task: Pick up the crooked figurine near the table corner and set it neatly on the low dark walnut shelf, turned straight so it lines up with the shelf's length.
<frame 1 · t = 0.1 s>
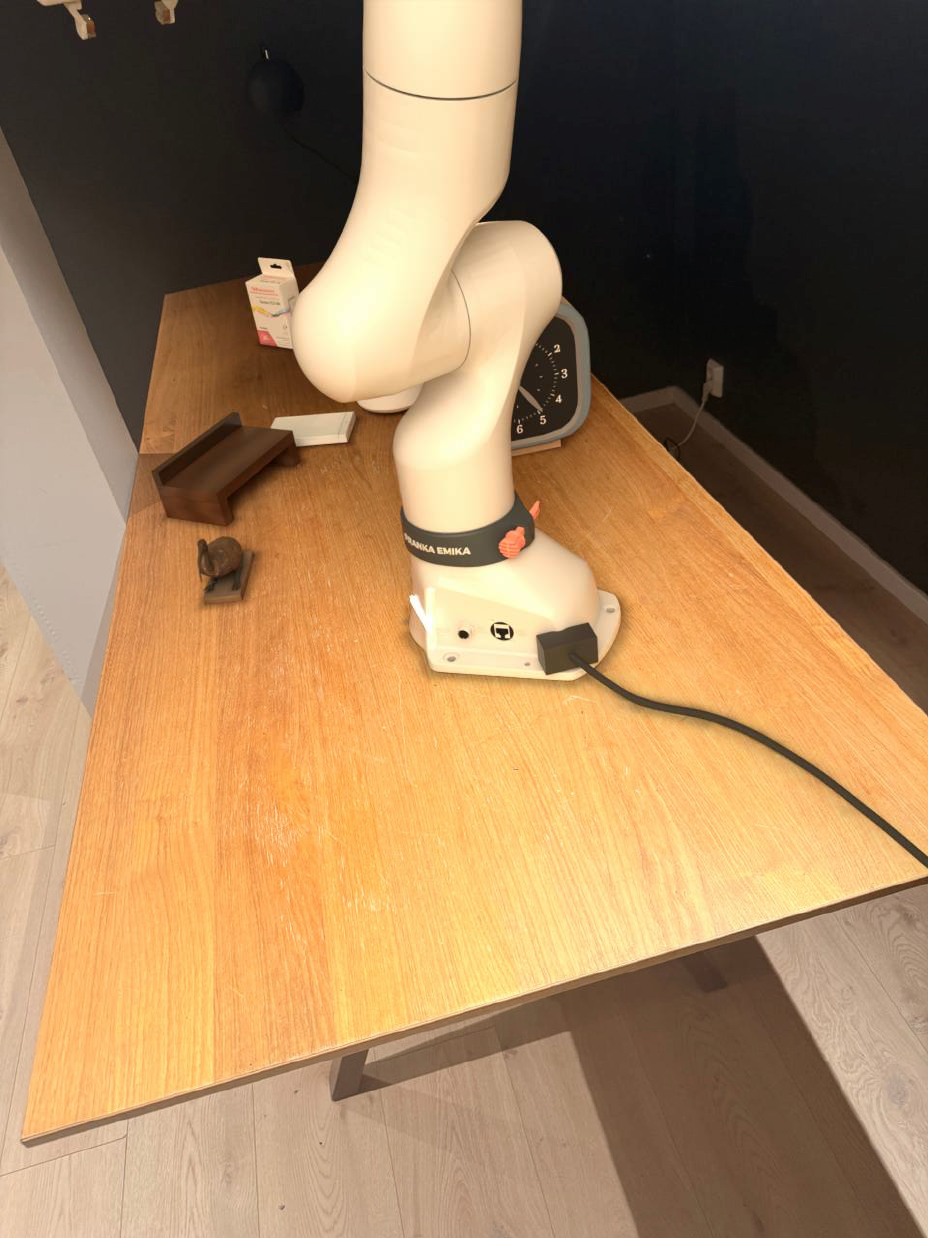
hand: (126, 28, 108), 54 cm above the table, tool tilted 30°, fingers open, 8 cm apart
ink cartridge box: (285, 343, 177), on the table
alarm clock: (514, 444, 133), on the table
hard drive: (312, 435, 144), on the table
shelf: (236, 488, 132), on the table
flower in vase: (399, 403, 149), on the table
figurine: (227, 590, 112), on the table
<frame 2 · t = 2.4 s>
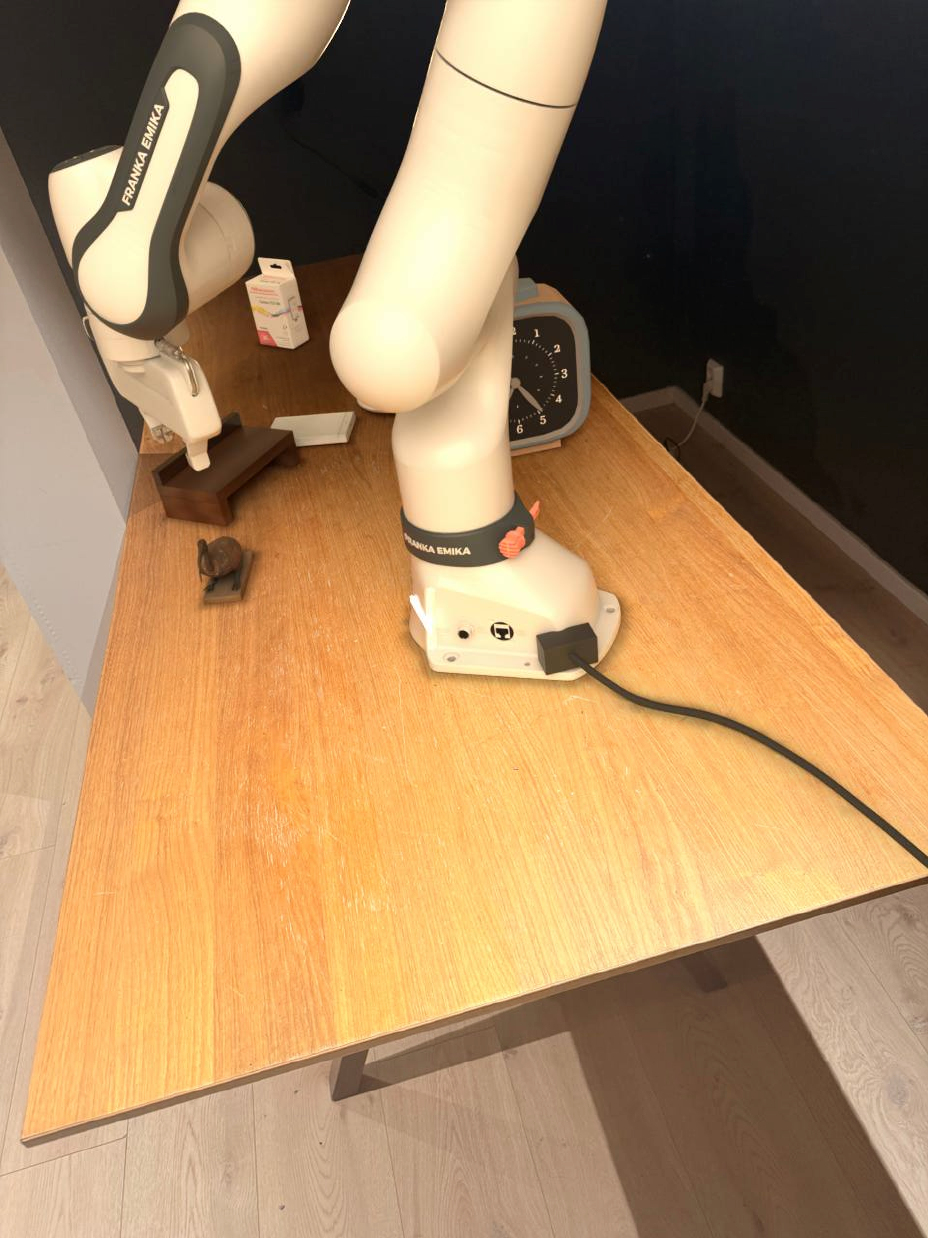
hand: (181, 453, 102), 18 cm above the table, tool pointing down, fingers open, 8 cm apart
nothing on the table moved.
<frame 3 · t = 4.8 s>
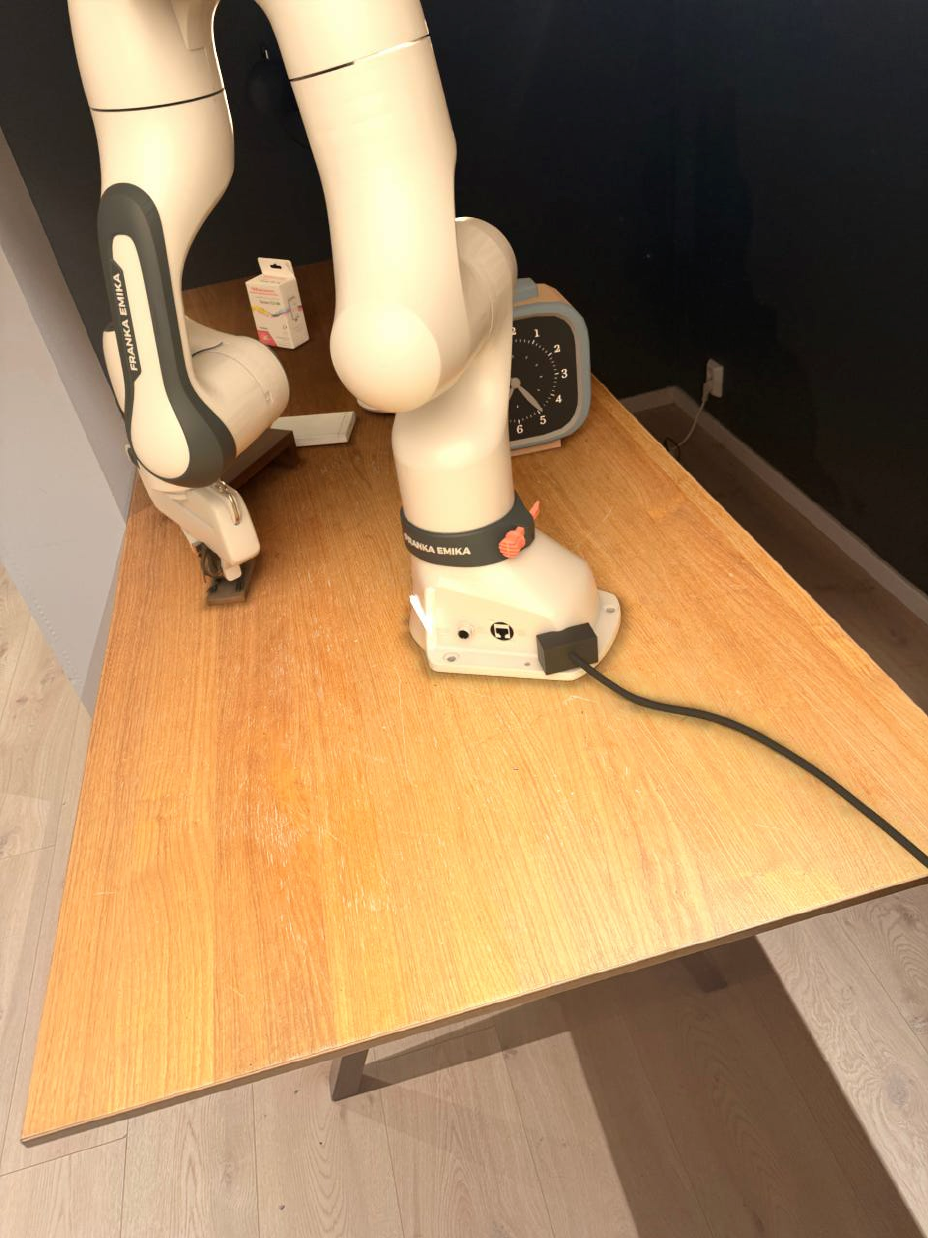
hand: (217, 564, 110), 3 cm above the table, tool pointing down, fingers closed on figurine, 6 cm apart
figurine: (230, 591, 112), on the table, touching gripper
everything else where it was.
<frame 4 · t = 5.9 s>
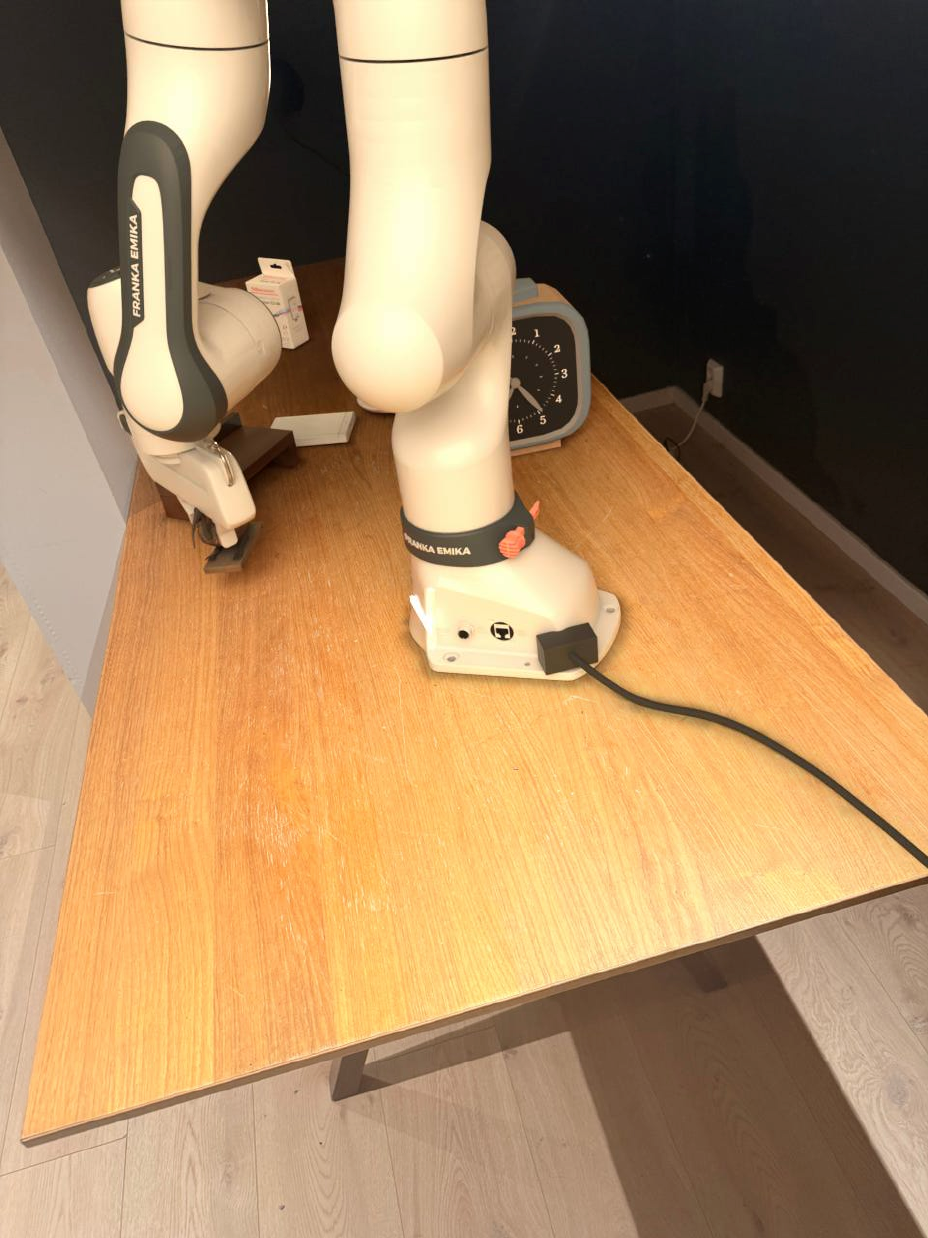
hand: (214, 534, 107), 8 cm above the table, tool pointing down, fingers closed on figurine, 5 cm apart
figurine: (231, 561, 109), point 4 cm above the table, touching gripper
everything else where it was.
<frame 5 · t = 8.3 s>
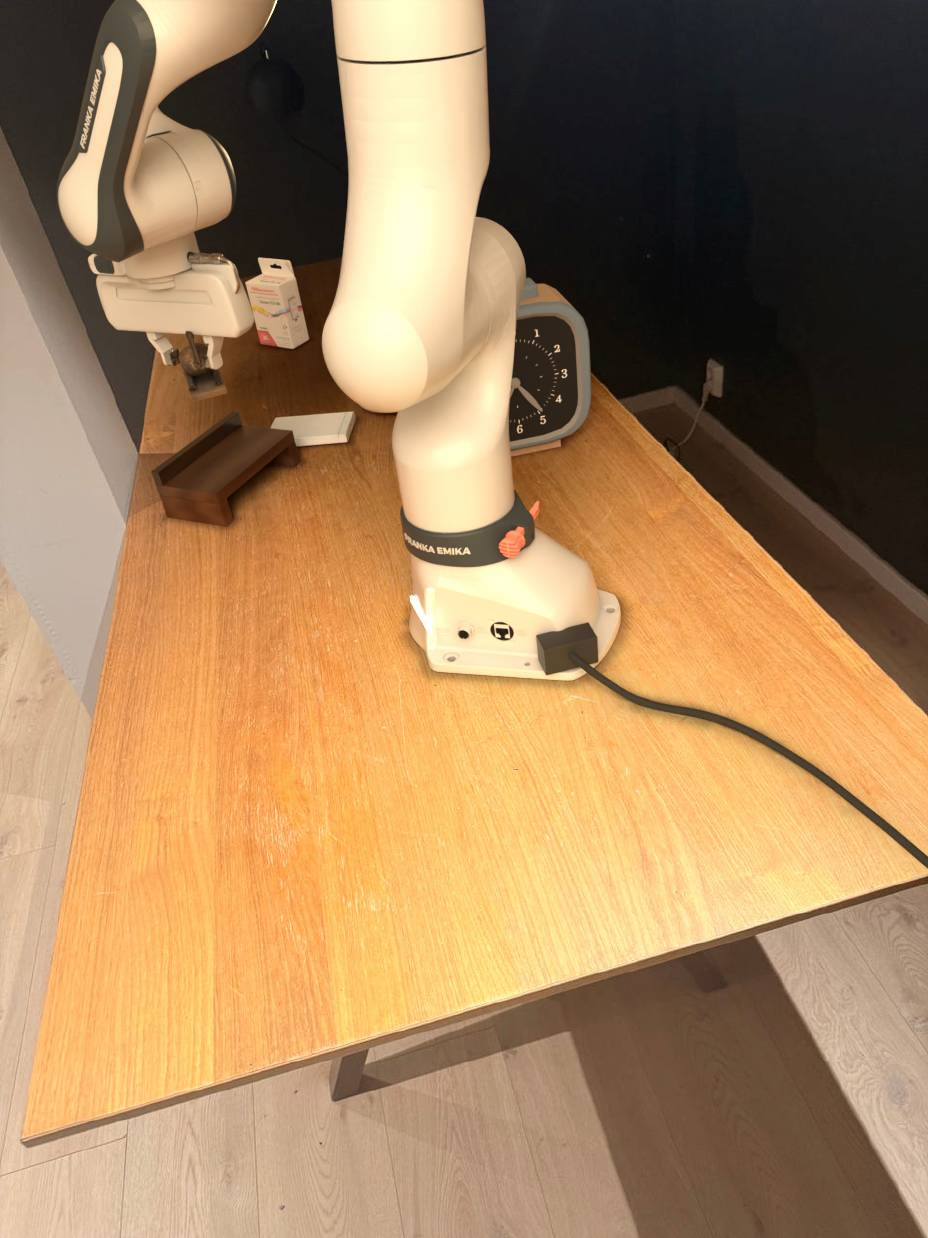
hand: (193, 365, 118), 19 cm above the table, tool pointing down, fingers closed on figurine, 5 cm apart
figurine: (208, 391, 121), point 16 cm above the table, touching gripper
everything else where it was.
when the fingers open (9 cm above the table, at t = 11.0 s): figurine moves 1 cm, resting on shelf.
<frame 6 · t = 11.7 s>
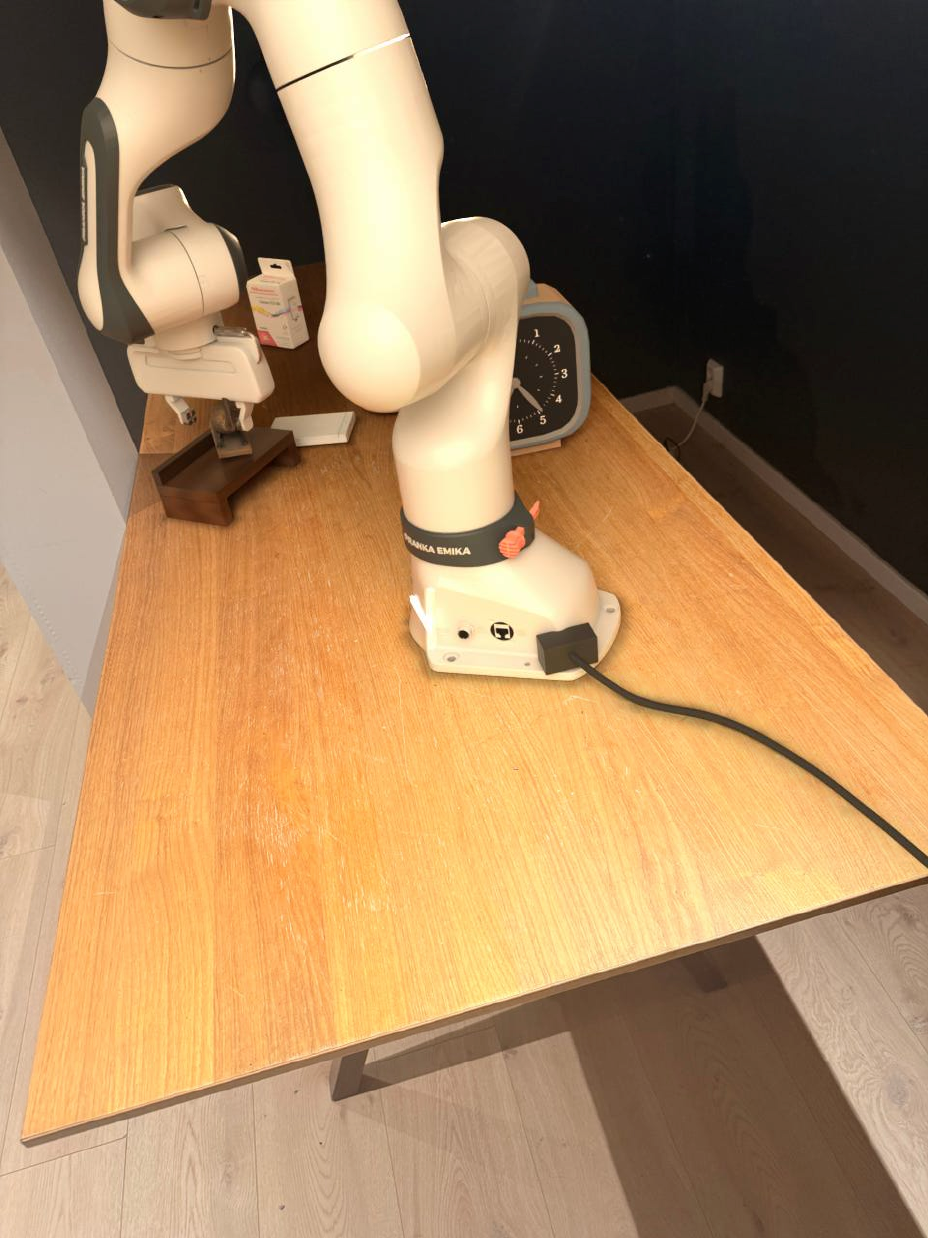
hand: (217, 426, 127), 10 cm above the table, tool pointing down, fingers open, 8 cm apart
figurine: (233, 447, 129), point 6 cm above the table, touching gripper, shelf
everything else where it was.
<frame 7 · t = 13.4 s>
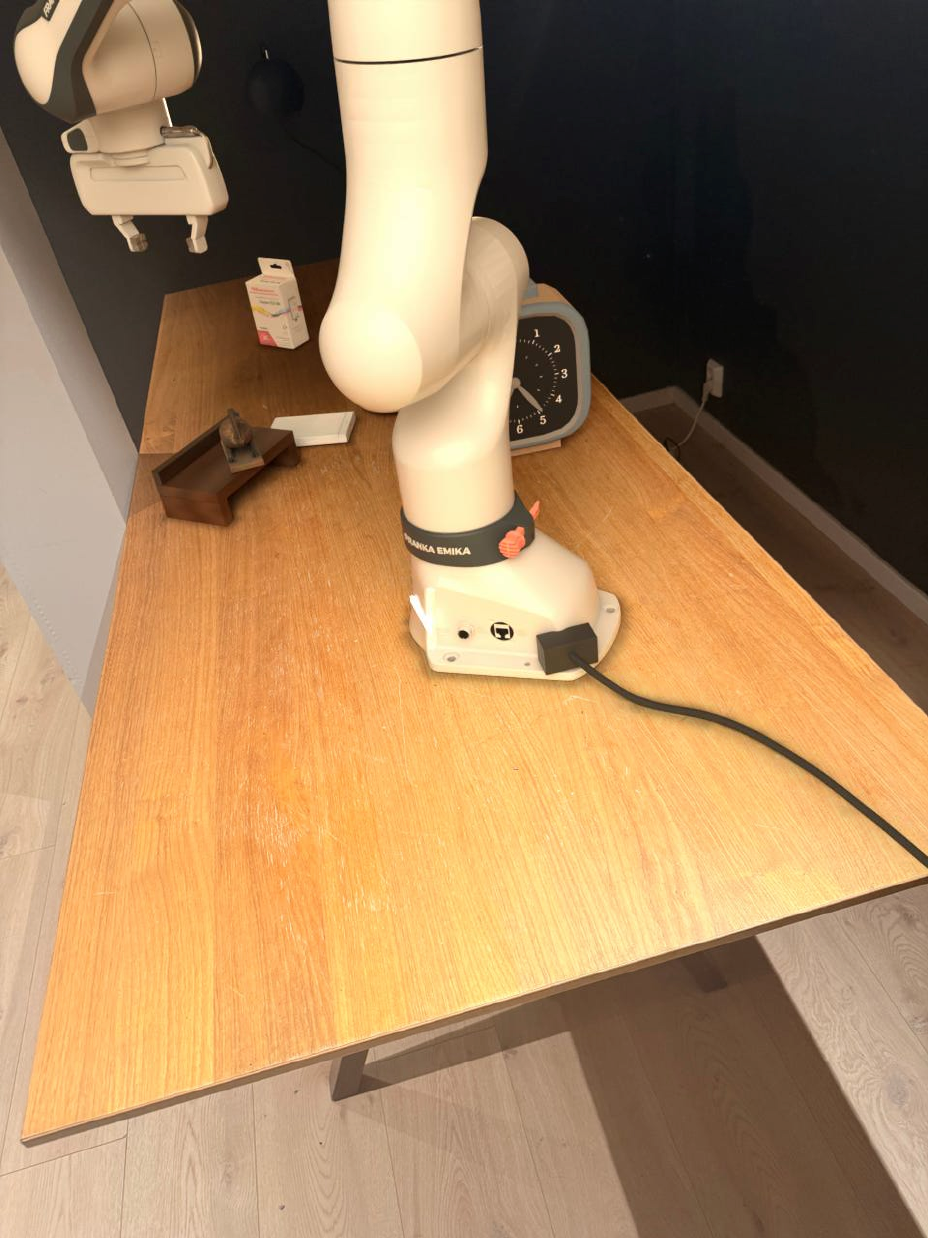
hand: (169, 251, 118), 31 cm above the table, tool pointing down, fingers open, 8 cm apart
figurine: (245, 462, 128), point 5 cm above the table, touching shelf
everything else where it was.
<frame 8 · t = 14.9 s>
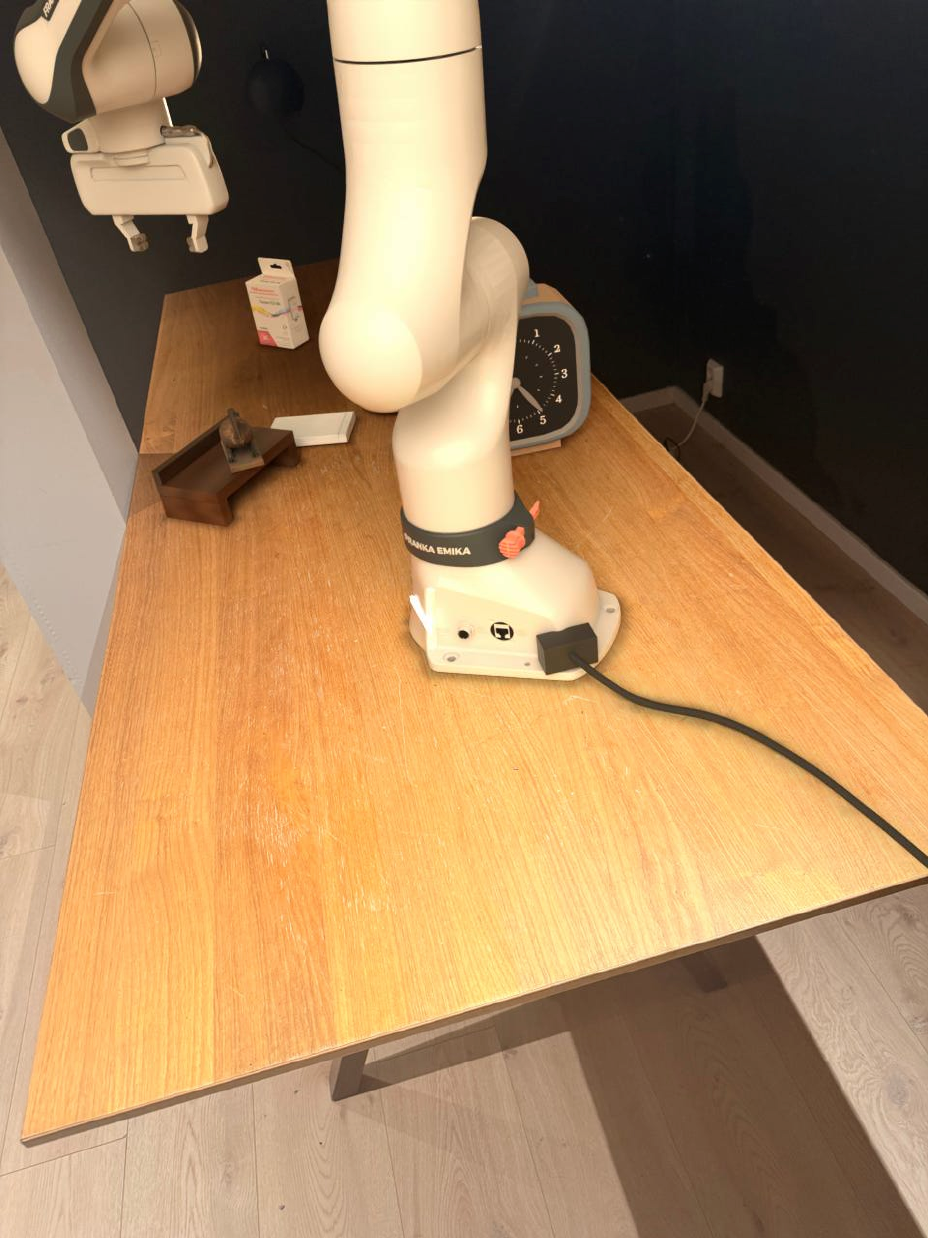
hand: (169, 250, 118), 31 cm above the table, tool pointing down, fingers open, 8 cm apart
nothing on the table moved.
at the end: figurine inside the target area on the shelf (3.5 cm from its centre), point 4.8 cm above the shelf's base; figurine tilted 0° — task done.
